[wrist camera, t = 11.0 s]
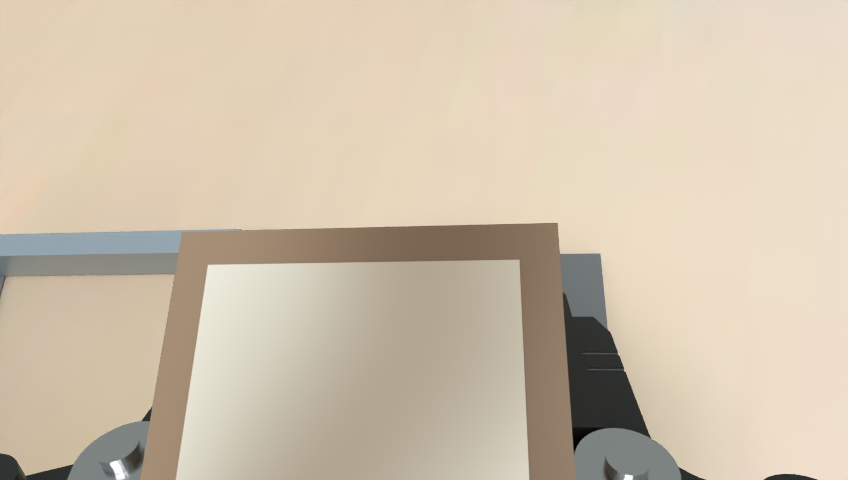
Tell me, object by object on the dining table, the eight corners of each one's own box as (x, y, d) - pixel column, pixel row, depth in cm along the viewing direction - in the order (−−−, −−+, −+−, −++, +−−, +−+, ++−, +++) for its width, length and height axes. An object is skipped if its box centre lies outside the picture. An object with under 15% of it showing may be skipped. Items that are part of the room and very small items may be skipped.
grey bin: (-102, 592, 22) (-204, 624, 19) (-8, 257, 27) (-76, 236, 24) (231, 611, 21) (185, 649, 18) (271, 252, 26) (239, 229, 22)
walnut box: (335, 516, 14) (100, 681, 5) (346, 330, 16) (177, 229, 7) (523, 524, 13) (594, 719, 5) (516, 330, 15) (558, 220, 6)
